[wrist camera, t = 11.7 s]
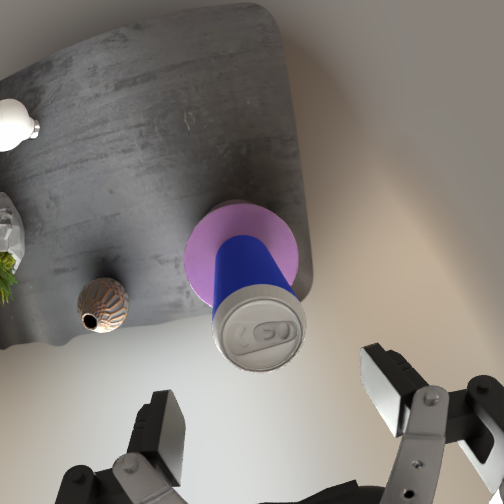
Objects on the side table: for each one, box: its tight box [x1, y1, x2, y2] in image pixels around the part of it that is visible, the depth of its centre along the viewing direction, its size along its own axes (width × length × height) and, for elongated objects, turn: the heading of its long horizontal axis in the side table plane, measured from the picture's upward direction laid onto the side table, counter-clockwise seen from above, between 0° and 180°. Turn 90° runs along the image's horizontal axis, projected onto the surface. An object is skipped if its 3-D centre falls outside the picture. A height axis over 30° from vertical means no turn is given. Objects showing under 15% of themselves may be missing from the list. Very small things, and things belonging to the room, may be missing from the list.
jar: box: [184, 199, 299, 307], centre depth 36 cm, size 11×11×12 cm
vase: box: [77, 278, 129, 333], centre depth 38 cm, size 7×7×9 cm
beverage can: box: [212, 235, 306, 373], centre depth 23 cm, size 5×5×15 cm
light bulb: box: [0, 99, 40, 151], centre depth 30 cm, size 7×7×11 cm
